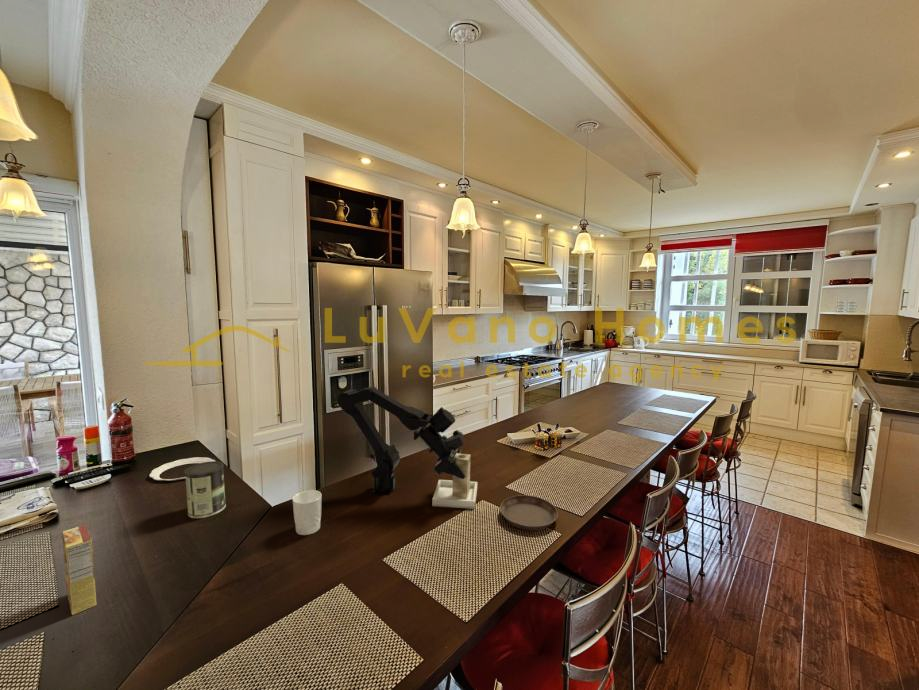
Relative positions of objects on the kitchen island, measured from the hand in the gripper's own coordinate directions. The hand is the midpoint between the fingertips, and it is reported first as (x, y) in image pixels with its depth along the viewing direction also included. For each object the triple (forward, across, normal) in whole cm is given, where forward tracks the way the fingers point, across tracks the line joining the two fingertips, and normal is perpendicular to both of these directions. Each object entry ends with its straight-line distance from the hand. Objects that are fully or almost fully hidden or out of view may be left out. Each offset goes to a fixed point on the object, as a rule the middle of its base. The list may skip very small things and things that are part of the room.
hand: (465, 474), depth 131 cm
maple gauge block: (+4, 0, +6) cm, 7 cm away
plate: (-72, -2, +86) cm, 112 cm away
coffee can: (-50, -24, +63) cm, 84 cm away
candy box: (-47, -62, +60) cm, 98 cm away
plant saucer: (+21, -8, -9) cm, 24 cm away
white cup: (-23, -27, +36) cm, 51 cm away
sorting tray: (+4, 0, +8) cm, 9 cm away
